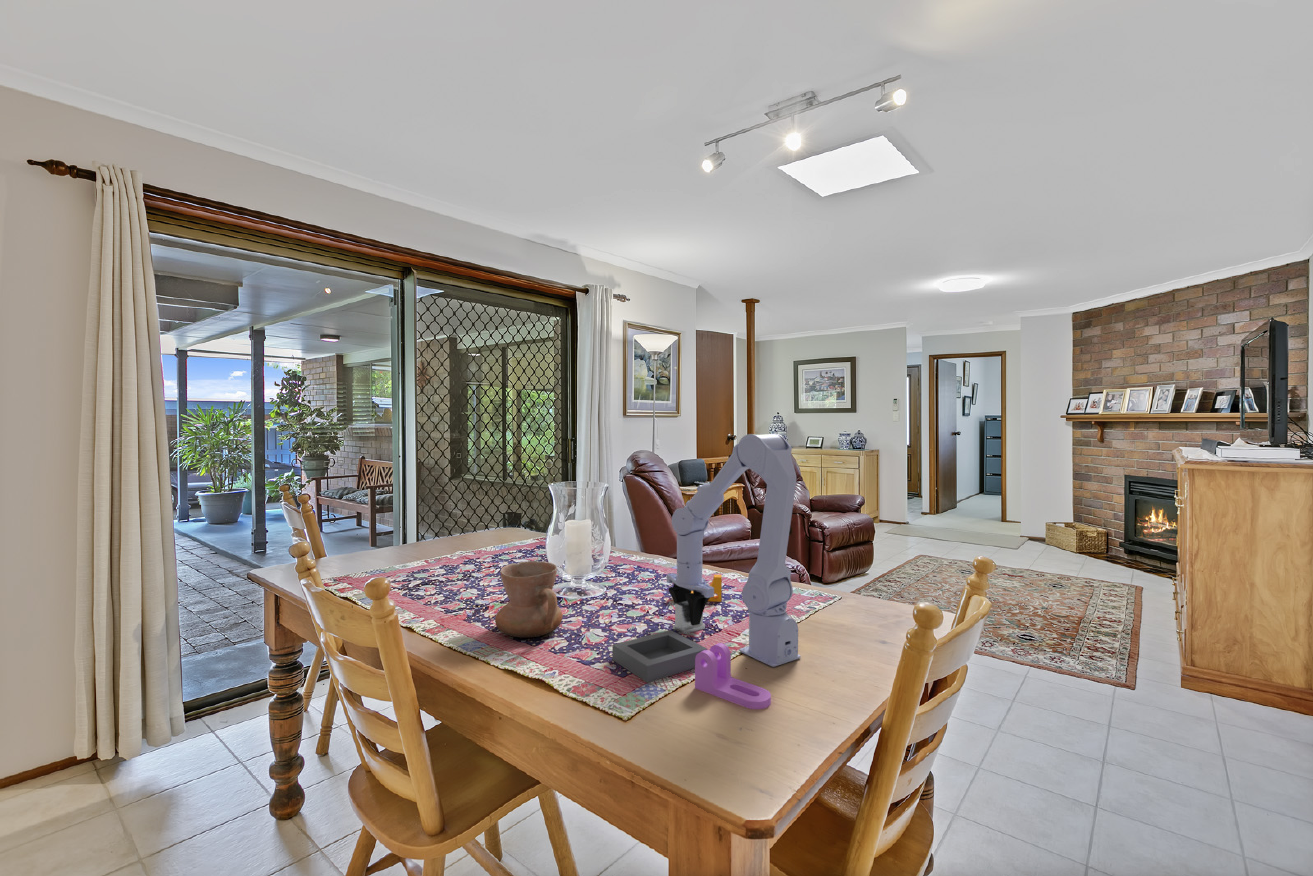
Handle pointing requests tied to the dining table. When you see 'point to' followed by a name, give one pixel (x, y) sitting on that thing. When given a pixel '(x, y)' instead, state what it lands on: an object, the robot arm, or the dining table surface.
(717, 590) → the pipe clamp
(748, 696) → the bracket
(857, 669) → the dining table surface
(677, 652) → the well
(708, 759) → the dining table surface
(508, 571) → the ceramic jug
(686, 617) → the grey block
